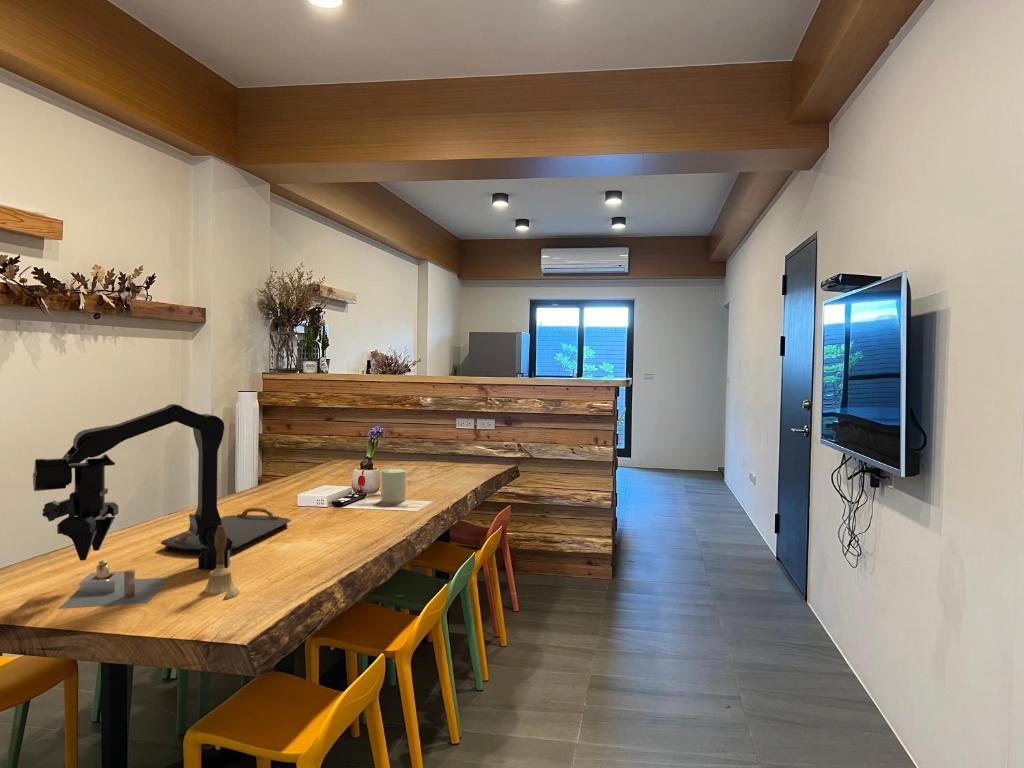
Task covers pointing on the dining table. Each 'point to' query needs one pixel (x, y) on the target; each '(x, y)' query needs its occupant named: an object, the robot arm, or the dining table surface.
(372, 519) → the dining table surface
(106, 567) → the brass knobbed cylinder
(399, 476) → the can
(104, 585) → the square hole block
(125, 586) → the stand rod
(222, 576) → the hand bell
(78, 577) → the dining table surface
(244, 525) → the serving board
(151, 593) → the board
